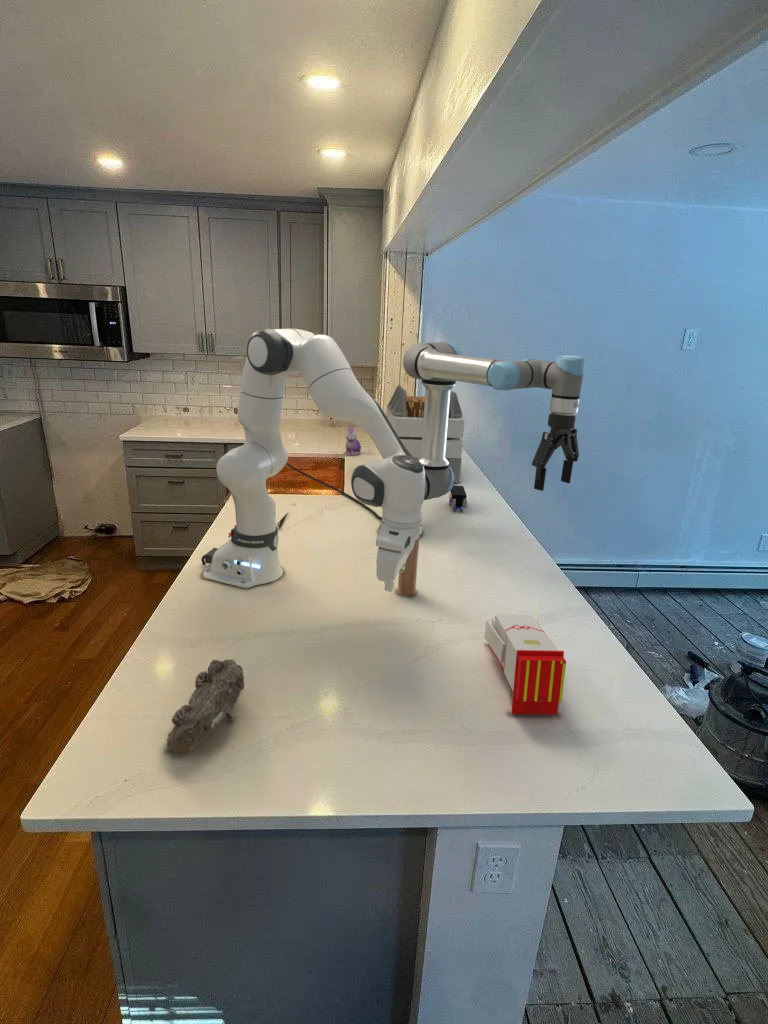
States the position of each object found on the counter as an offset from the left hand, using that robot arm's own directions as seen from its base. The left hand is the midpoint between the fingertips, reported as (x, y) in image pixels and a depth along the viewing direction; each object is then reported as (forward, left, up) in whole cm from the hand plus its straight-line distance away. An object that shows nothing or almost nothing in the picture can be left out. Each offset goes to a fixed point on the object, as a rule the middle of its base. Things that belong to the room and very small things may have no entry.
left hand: (394, 580), depth 134 cm
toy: (+30, -9, -15) cm, 34 cm away
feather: (-52, +70, -15) cm, 88 cm away
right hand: (+39, +46, +13) cm, 61 cm away
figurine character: (+10, +99, -15) cm, 101 cm away
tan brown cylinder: (0, +22, -15) cm, 27 cm away
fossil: (-29, -37, -15) cm, 49 cm away
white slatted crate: (-10, +145, -15) cm, 146 cm away
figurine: (-50, +172, -15) cm, 179 cm away
